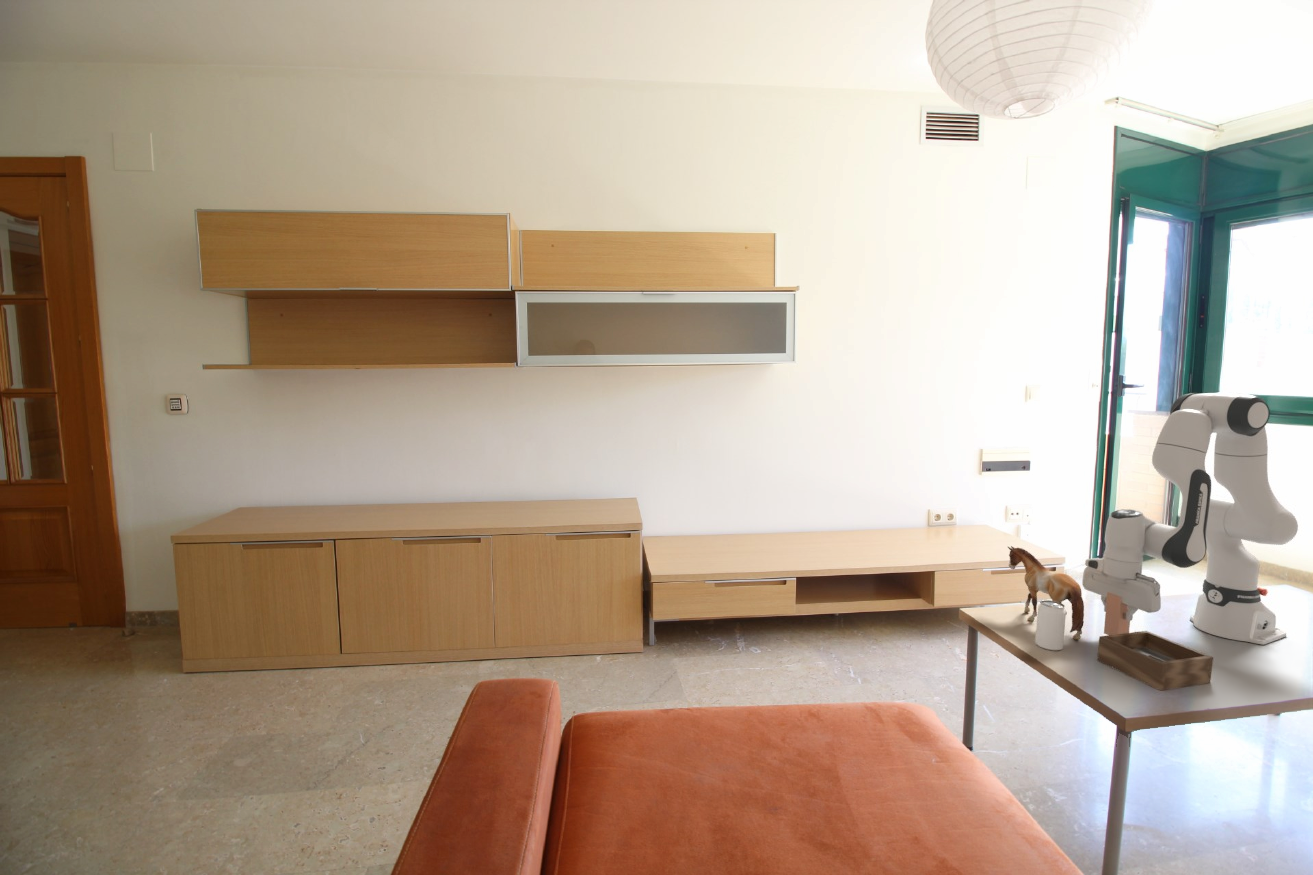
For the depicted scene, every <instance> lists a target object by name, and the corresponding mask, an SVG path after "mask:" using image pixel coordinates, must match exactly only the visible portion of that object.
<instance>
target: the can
mask: <svg viewBox="0 0 1313 875" xmlns="http://www.w3.org/2000/svg"><path fill="white" fill-rule="evenodd" d="M1039 602H1040V603H1039V605H1038V607H1037V616H1036V617H1037V618H1036V626H1035V627H1036V628H1035V639H1034V640H1035V641H1034V642H1035V644H1036V645H1037V647H1039V648H1042V649H1043V650H1047V651H1053V652H1057V651H1058V652H1059V651H1062V650H1063V649H1064V641H1065V627H1066V618H1067V616H1066V615H1067V614H1066V612H1067V611H1066V609H1065V604H1063V603H1062V602H1061V603H1059V602H1056V601H1052V600H1051V599H1049V600H1047V599H1045V600H1041V601H1039Z"/></svg>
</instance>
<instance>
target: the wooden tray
mask: <svg viewBox="0 0 1313 875" xmlns="http://www.w3.org/2000/svg"><path fill="white" fill-rule="evenodd" d="M1097 649H1098V650H1097V660H1096V661H1098V662H1099V663H1101V662H1102V664H1104V665H1106V666H1108V667H1109V668H1112V669H1114V670H1116V671H1118V672H1121V673H1123V674H1124V673H1125V674H1124V675H1127V676H1128V677H1131V678H1133V679H1135V680H1137V681H1139V682H1142V683H1144V684H1145V685H1148V686H1150V687H1152V688H1154V689H1156V690H1157V691H1167V690H1171V689H1172V690H1174V689H1181V688H1186V687H1193V686H1199V685H1205V684H1211V678H1212V670H1213V664H1214V663H1213V661H1214V657H1213V656H1211V655H1208V654H1206V653H1203V652H1202V651H1199V650H1195V649H1194V648H1191V647H1188V646H1185V645H1183V644H1181V643H1179V642H1176V641H1173V640H1171V639H1169V638H1166V637H1163V636H1161V635H1158V634H1155V633H1153V632H1151V631H1148V630H1142V631H1134V632H1129V633H1124V634H1116V635H1101V636H1099V637H1098V648H1097Z"/></svg>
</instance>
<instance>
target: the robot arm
mask: <svg viewBox="0 0 1313 875" xmlns="http://www.w3.org/2000/svg"><path fill="white" fill-rule="evenodd" d="M1169 414H1170V415H1169V416H1168V417H1167V419H1166V421H1165V423H1164V425H1163V426H1162V429H1161V430H1160V433H1159V435H1158V437H1157V440H1156V443H1155V446H1154V450H1153V452H1152V459H1151V460H1152V461H1151V463H1152V465H1153V468H1154V469H1155V471H1156V472H1157V474H1159V475H1160V476H1161V477H1162V478H1164V479H1165V480H1167V481H1168V482H1170V483H1171V484H1173V485H1175V487H1177V488H1178V489H1179V491H1180V493H1181V497H1182V498H1181V499H1182V500H1181V505H1180V507H1181V508H1180V514H1179V522H1178V525H1177V526H1172V525H1169V524H1166V523H1162V522H1157V521H1156V520H1153V519H1150V518H1148V517H1147V516H1145V515H1144V513H1143V512H1141V511H1140V510H1135V509H1124V508H1123V509H1118V510H1115V511H1113V512H1111V513H1110V514H1109V515H1108V519H1107V521H1106V526H1105V533H1104V543H1105V550H1104V551H1103V556H1102V557H1094V558H1093V557H1092V558H1088V559H1085V562H1084V563H1085V564H1084V565H1085V568H1084V569H1083V572H1082V573H1083V575H1082V582H1081V583H1082V587H1083V588H1084V590H1085V591H1088V592H1091V593H1094V594H1097V595H1100V600H1101V603H1102V604H1103V612H1104V613H1106V602H1107V592H1109V593H1111V594H1114V595H1117V596H1120V597H1122V599H1121V602H1122V603H1123V604H1126V605H1127V609H1129V610H1128V612H1127V613H1123V619H1125V620H1127V621H1130V622H1131V621H1132V620H1133V618H1134V616H1133V615H1134V614H1135V613H1136V612H1137V611H1139V610H1140V611H1142V612H1146V613H1148V614H1152V613H1158V612H1159V611H1160V610H1161V608H1162V607H1161V605H1162V602H1161V584H1160V583H1159V582H1158V581H1157V580H1156V579H1155V578H1154V577H1152V576H1147V575H1145V574H1142V573H1143V562H1144V558H1143V556H1145V555H1146V556H1148V557H1151V558H1154V559H1157V560H1161V561H1164V562H1166V563H1168V564H1171V565H1173V566H1176V567H1178V568H1183V569H1186V568H1189V567H1190V568H1191V567H1193V566H1195V565H1197V564H1199V563H1200V562H1202V561H1203V560H1204V558H1205V557H1206V556H1207V557H1206V562H1207V563H1206V575H1205V579H1204V580H1203V583H1202V592H1203V593H1201V594H1200V595H1199V596H1198V598H1197V602H1196V607H1195V609H1194V610H1195V611H1194V615H1190V618H1189V620H1190V621H1191V622H1193V626H1194V627H1195V628H1196V629H1198V630H1200V631H1203V632H1204V633H1208V634H1210V635H1213V636H1217V637H1220V638H1223V639H1224V638H1225V639H1228V640H1229V639H1230V640H1234V641H1241V642H1249V643H1252V644H1258V645H1268V644H1269V643H1272V642H1274V641H1278V640H1280V639H1282V638H1287V637H1286V636H1287V633H1286V631H1284V630H1282V629H1280V628H1278V627H1276V624H1277V622H1276V620H1277V619H1276V614H1275V612H1273V611H1272V610H1271V609H1270V608H1268V607H1267V606H1266V605H1265V604H1264V603H1263V602H1262V599H1261V596H1262V597H1263V596H1264V597H1266V596H1267V595H1268V593H1269V592H1268V589H1267V588H1262V587H1260V586H1259V587H1258V583H1259V577H1260V576H1259V574H1260V567H1261V565H1260V563H1259V560H1258V559H1257V557H1255V556H1254V555H1253V554H1252V553H1251V552H1249V551H1248V550H1247V549H1246V547H1245V545H1244V544H1243V542H1242V540H1243V541H1246V542H1247V541H1248V542H1252V543H1255V544H1259V545H1261V544H1262V545H1272V546H1273V545H1276V546H1278V545H1279V546H1281V545H1286V544H1288V543H1289V542H1291V541H1292V540H1293V539H1294V538H1295V537H1296V535H1297V533H1298V531H1299V525H1298V524H1299V523H1298V521H1297V518H1296V516H1295V515H1294V514H1293V513H1292V512H1291V511H1289V510H1288V509H1287V508H1285V507H1284V506H1283V505H1282V504H1281V502H1280V501H1279V500H1278V499H1277V497H1276V496H1275V494H1274V492H1273V490H1272V488H1271V486H1270V482H1269V476H1268V452H1269V450H1268V437H1267V431H1266V430H1267V429H1266V426H1267V424H1268V422H1269V419H1270V415H1271V412H1270V407H1269V404H1267V402H1266V401H1265V399H1263V398H1262V397H1260V396H1256V395H1252V394H1247V393H1244V394H1239V393H1231V392H1207V393H1205V392H1203V393H1200V392H1199V393H1198V392H1190V393H1186V394H1183V395H1179V397H1177V398H1176V399H1175V401H1174V402H1173V403H1172V405H1171V407H1170V412H1169ZM1213 433H1214V434H1215V433H1216V434H1215V441H1214V442H1215V443H1214V457H1213V459H1214V460H1213V477H1214V479H1215V481H1216V482H1217V483H1218V485H1221V486H1222V487H1224V488H1225V489H1226V490H1227V492H1229V493H1230V495H1231V497H1225V496H1224V497H1223V496H1219V495H1212V480H1211V476H1210V475H1209V473H1207V471H1206V465H1205V462H1206V457H1207V453H1208V450H1209V446H1210V442H1211V441H1210V440H1211V437H1212V436H1211V435H1212V434H1213Z"/></svg>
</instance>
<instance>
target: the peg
mask: <svg viewBox="0 0 1313 875" xmlns="http://www.w3.org/2000/svg"><path fill="white" fill-rule="evenodd" d="M1121 599H1122V597H1120V596H1117V595H1114V594H1111V593H1109V592H1107V602H1106V612H1105V615H1104V616H1105V618H1104V626H1103V629H1104V630H1103V634H1104V635H1106V636H1108V635H1116V634H1124V633H1130V626H1131V625H1130V624H1131V621H1127V620H1125V619H1123V613H1127V612H1128V610H1129V609H1127V605H1126V604H1123V603H1122V602H1121Z"/></svg>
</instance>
